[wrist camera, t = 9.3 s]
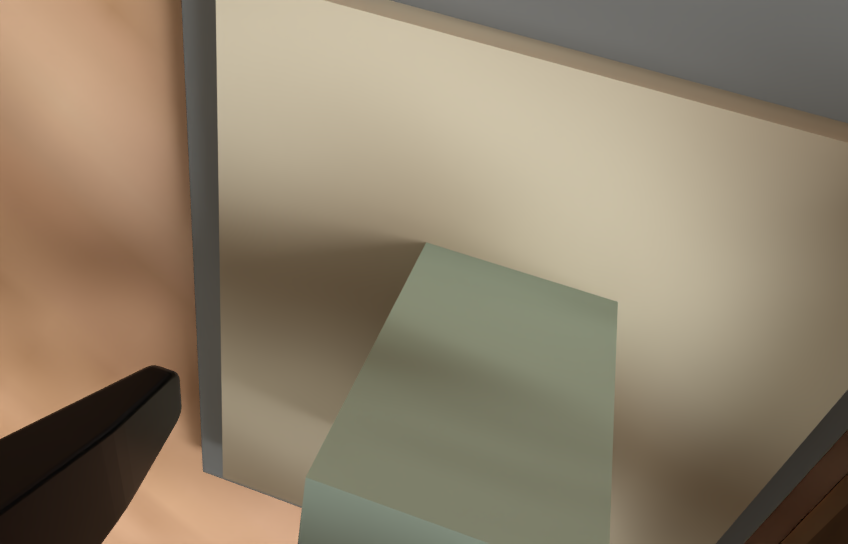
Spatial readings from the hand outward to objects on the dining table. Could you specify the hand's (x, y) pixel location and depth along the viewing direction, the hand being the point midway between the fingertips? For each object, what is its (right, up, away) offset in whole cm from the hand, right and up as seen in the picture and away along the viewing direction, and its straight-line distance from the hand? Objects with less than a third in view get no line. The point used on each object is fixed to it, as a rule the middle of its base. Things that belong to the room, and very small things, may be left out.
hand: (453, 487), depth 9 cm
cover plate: (+1, +2, +2) cm, 3 cm away
